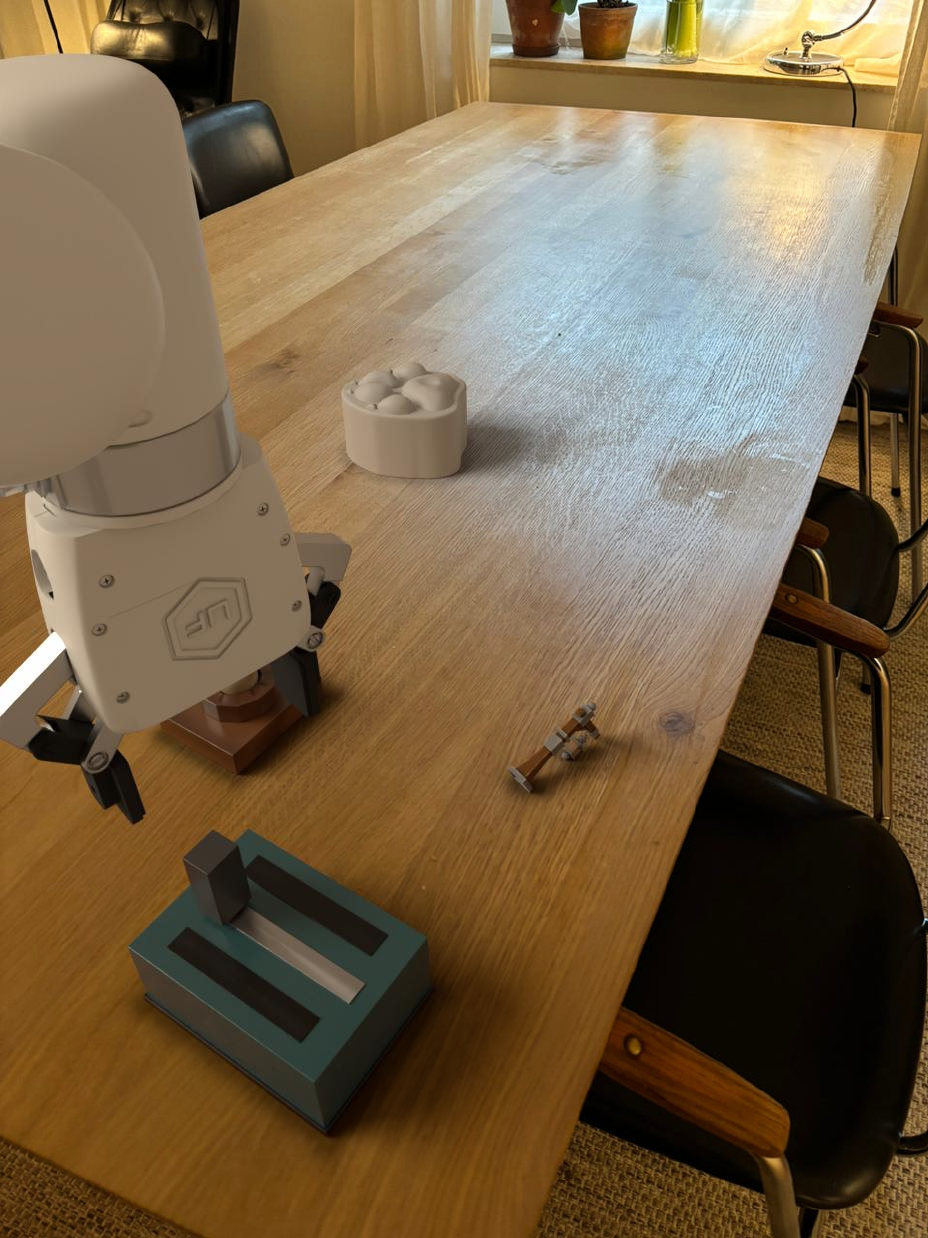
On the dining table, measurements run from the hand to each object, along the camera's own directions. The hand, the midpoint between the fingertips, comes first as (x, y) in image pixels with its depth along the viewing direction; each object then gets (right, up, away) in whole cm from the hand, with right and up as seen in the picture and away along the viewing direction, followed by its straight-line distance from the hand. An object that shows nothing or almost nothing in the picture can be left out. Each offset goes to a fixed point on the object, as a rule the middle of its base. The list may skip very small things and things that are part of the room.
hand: (215, 749), depth 48 cm
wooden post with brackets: (+19, -5, +27) cm, 33 cm away
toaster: (+1, -17, +13) cm, 21 cm away
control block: (-5, -1, +31) cm, 31 cm away
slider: (-2, -10, +10) cm, 15 cm away
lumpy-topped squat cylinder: (+6, +25, +61) cm, 66 cm away
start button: (-5, +2, +28) cm, 29 cm away
